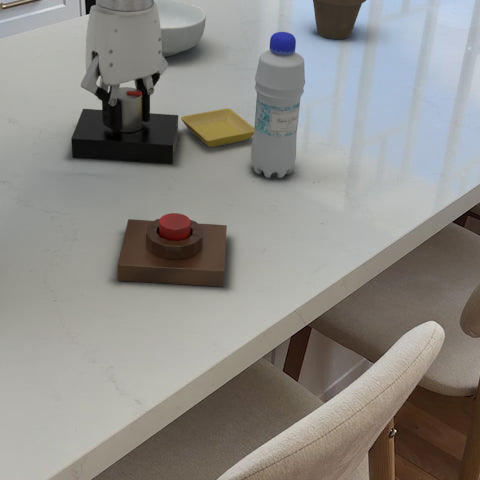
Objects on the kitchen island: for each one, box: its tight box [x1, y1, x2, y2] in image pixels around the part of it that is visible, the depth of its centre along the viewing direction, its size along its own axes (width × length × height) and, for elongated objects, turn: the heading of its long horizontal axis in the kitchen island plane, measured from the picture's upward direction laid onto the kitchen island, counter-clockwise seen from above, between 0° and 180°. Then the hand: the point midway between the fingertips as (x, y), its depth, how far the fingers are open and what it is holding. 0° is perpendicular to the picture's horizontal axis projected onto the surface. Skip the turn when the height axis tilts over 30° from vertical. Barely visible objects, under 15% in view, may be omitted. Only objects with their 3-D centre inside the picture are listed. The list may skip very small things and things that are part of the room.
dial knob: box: [117, 86, 142, 132], centre depth 125 cm, size 4×4×5 cm
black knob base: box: [70, 108, 179, 165], centre depth 128 cm, size 14×10×3 cm
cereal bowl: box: [154, 0, 207, 58], centre depth 159 cm, size 17×17×7 cm
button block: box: [117, 218, 228, 287], centre depth 104 cm, size 12×10×4 cm
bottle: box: [250, 31, 306, 179], centre depth 120 cm, size 7×7×20 cm
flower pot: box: [312, 0, 367, 40], centre depth 172 cm, size 12×11×10 cm
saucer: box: [180, 108, 255, 148], centre depth 133 cm, size 9×9×2 cm
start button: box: [159, 212, 191, 241], centre depth 103 cm, size 4×4×2 cm
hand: (126, 122), depth 126 cm, fingers closed on dial knob, 4 cm apart
